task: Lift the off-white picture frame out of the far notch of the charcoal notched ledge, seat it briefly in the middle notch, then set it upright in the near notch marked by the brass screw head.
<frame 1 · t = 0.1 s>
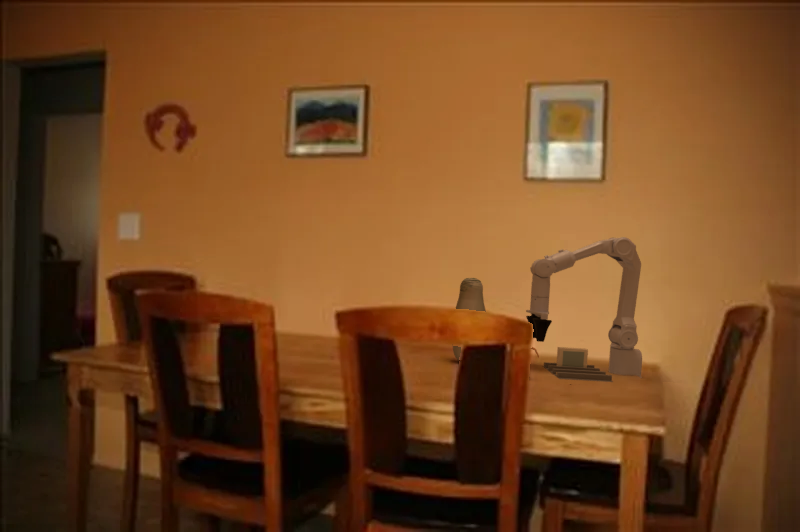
hand: (537, 339, 199), 10 cm above the table, tool pointing down, fingers open, 7 cm apart
picture frame: (571, 370, 199), point 1 cm above the table, touching notched ledge
notched ledge: (576, 376, 194), on the table
grey tall rounded piece: (466, 363, 207), on the table
figurine: (522, 381, 182), on the table
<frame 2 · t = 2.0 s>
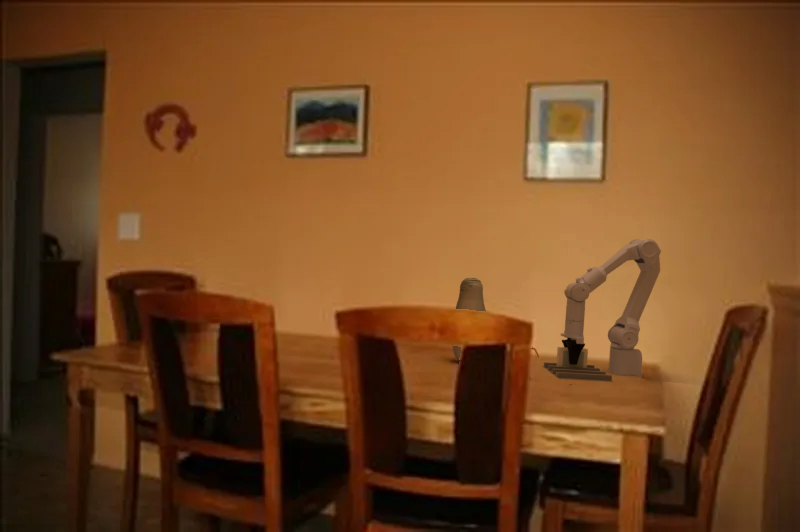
hand: (571, 363, 199), 3 cm above the table, tool pointing down, fingers closed on picture frame, 2 cm apart
picture frame: (571, 370, 199), point 1 cm above the table, touching gripper, notched ledge
everything else where it was.
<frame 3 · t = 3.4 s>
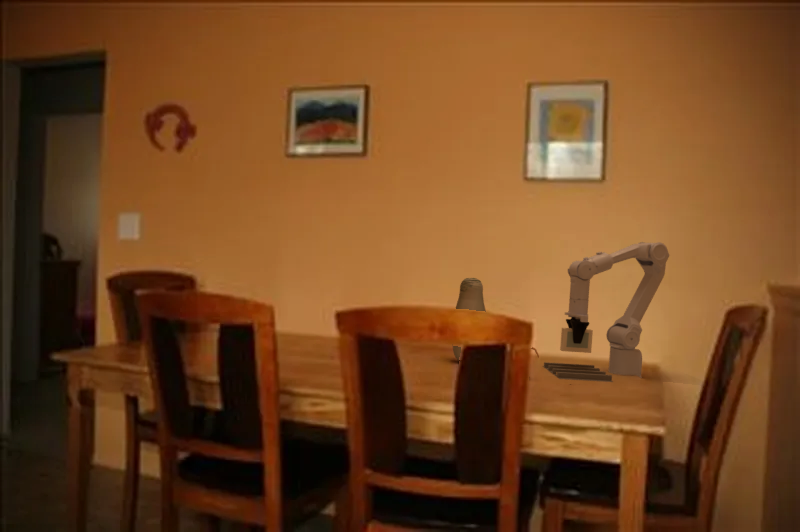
hand: (575, 342, 196), 10 cm above the table, tool pointing down, fingers closed on picture frame, 2 cm apart
picture frame: (575, 351, 196), point 7 cm above the table, touching gripper
everything else where it was.
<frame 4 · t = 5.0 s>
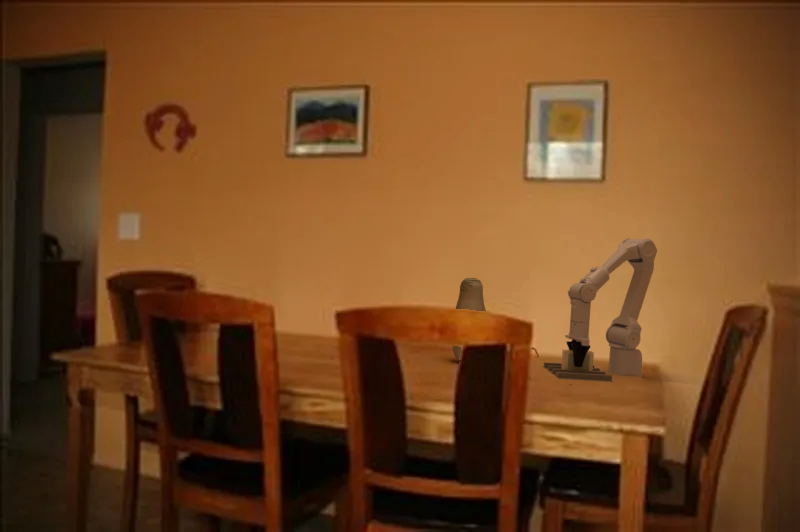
hand: (576, 365, 194), 3 cm above the table, tool pointing down, fingers closed on picture frame, 2 cm apart
picture frame: (576, 373, 194), point 1 cm above the table, touching gripper, notched ledge
everything else where it was.
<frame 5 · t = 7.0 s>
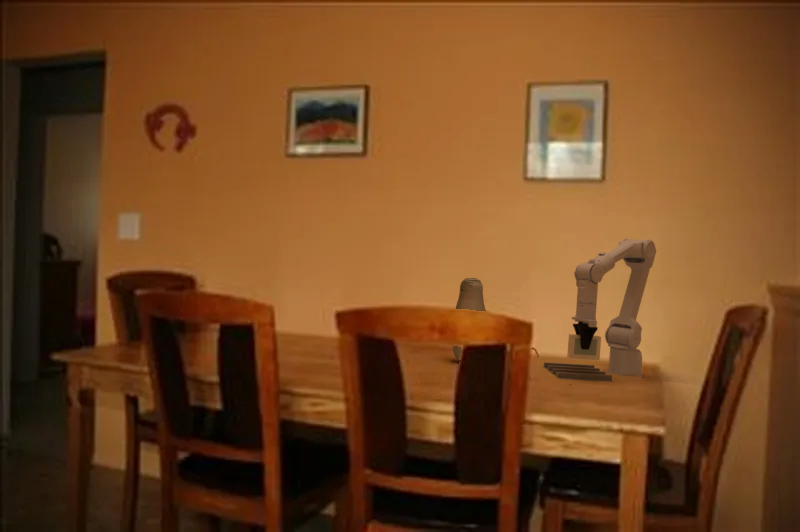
hand: (583, 348, 188), 10 cm above the table, tool pointing down, fingers closed on picture frame, 2 cm apart
picture frame: (583, 358, 188), point 7 cm above the table, touching gripper
everything else where it was.
when the fingers open (4 cm above the table, at t = 8.2 s): picture frame stays where it is, resting on notched ledge.
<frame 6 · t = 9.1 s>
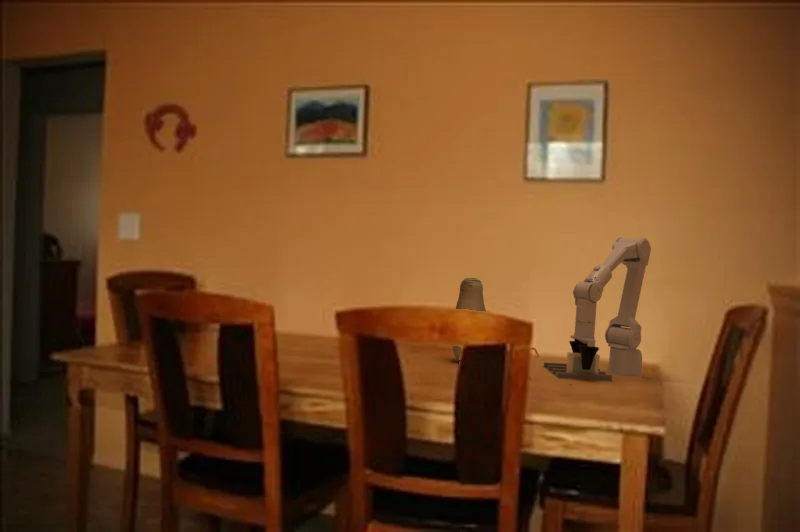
hand: (582, 367, 188), 4 cm above the table, tool pointing down, fingers open, 7 cm apart
picture frame: (581, 377, 189), point 1 cm above the table, touching notched ledge
everything else where it was.
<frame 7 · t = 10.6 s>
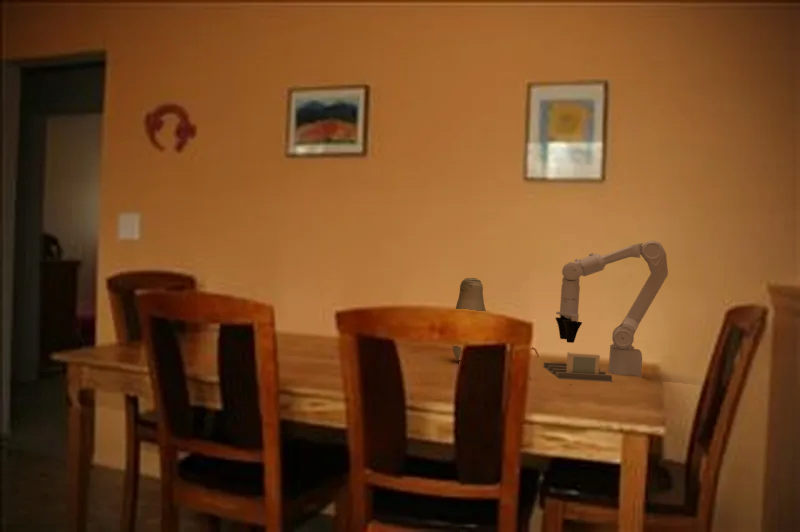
hand: (566, 340, 205), 9 cm above the table, tool pointing down, fingers open, 7 cm apart
nothing on the table moved.
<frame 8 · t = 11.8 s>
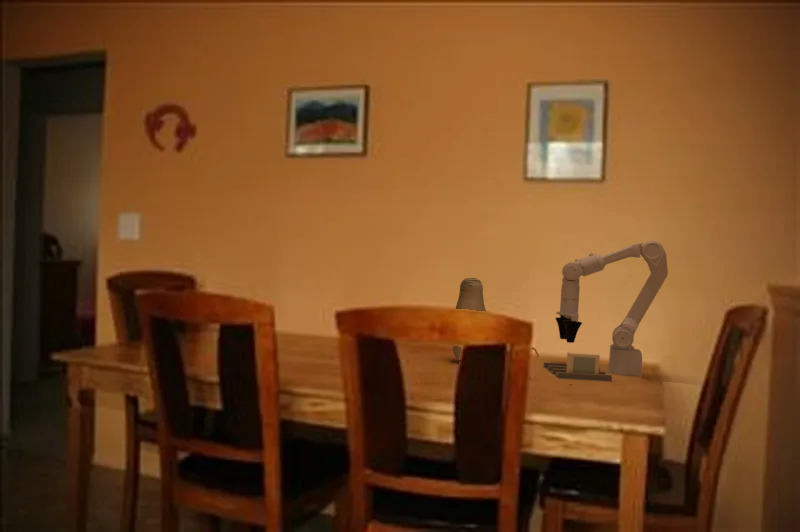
hand: (566, 340, 205), 9 cm above the table, tool pointing down, fingers open, 7 cm apart
nothing on the table moved.
at the end: picture frame 0.2 cm from the target spot on the notched ledge, point 1.0 cm above the notched ledge's base; picture frame tilted 0°; the gripper is holding nothing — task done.
